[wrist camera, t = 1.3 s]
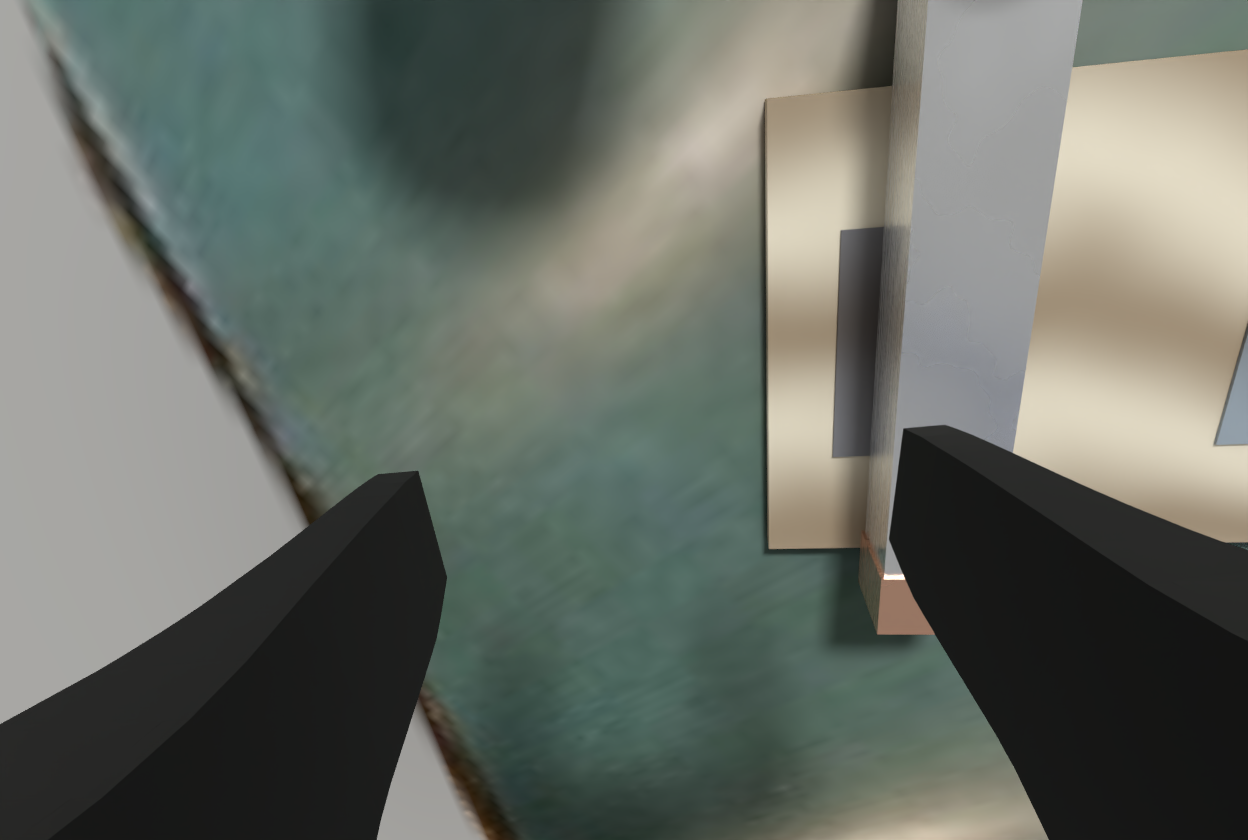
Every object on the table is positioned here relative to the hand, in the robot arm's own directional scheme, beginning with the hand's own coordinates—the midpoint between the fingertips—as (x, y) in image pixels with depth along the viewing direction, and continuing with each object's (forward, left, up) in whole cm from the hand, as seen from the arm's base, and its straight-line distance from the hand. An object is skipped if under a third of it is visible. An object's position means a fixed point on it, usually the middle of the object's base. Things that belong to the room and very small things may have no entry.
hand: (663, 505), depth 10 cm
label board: (-1, -13, -11) cm, 17 cm away
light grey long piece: (+1, -7, -11) cm, 13 cm away
